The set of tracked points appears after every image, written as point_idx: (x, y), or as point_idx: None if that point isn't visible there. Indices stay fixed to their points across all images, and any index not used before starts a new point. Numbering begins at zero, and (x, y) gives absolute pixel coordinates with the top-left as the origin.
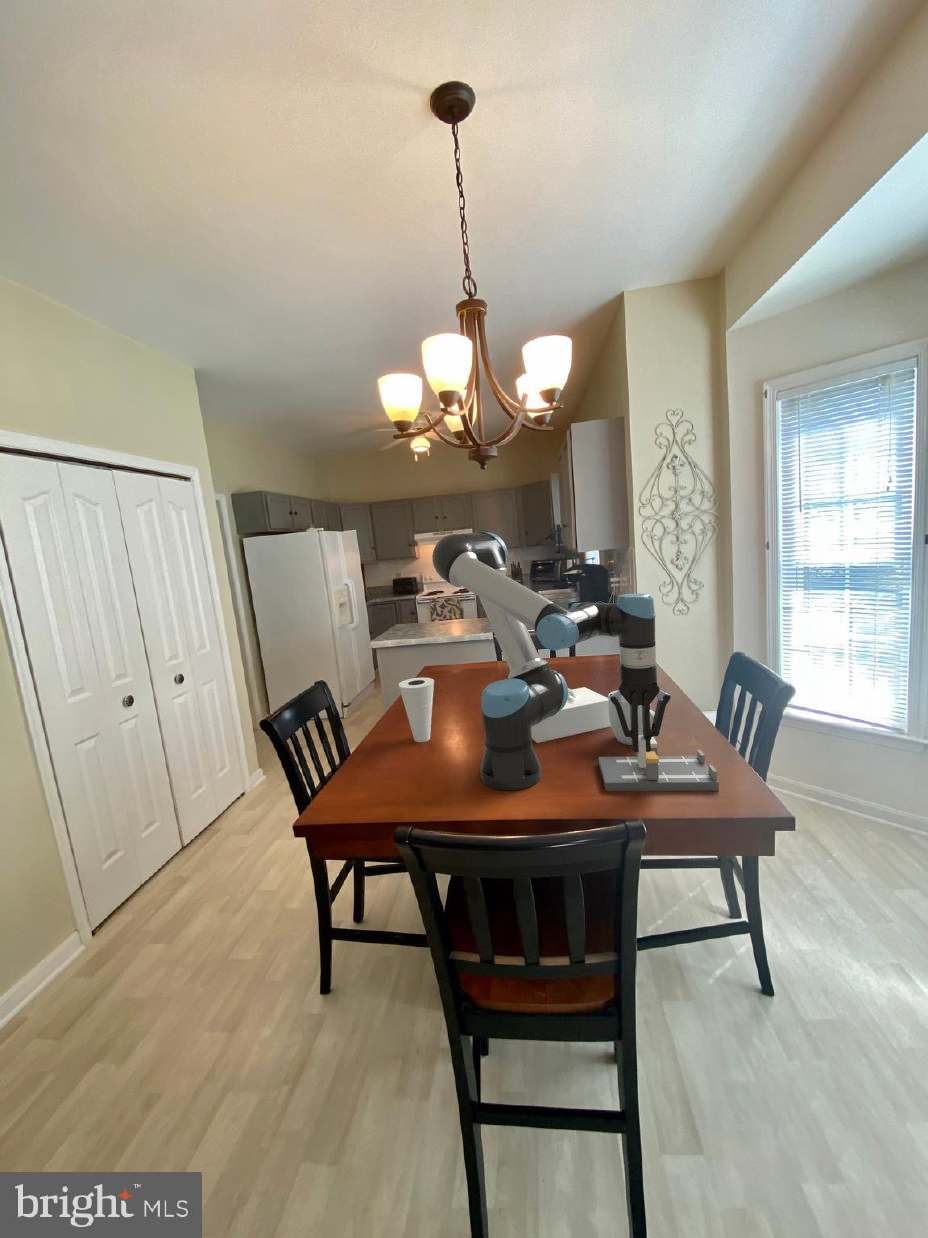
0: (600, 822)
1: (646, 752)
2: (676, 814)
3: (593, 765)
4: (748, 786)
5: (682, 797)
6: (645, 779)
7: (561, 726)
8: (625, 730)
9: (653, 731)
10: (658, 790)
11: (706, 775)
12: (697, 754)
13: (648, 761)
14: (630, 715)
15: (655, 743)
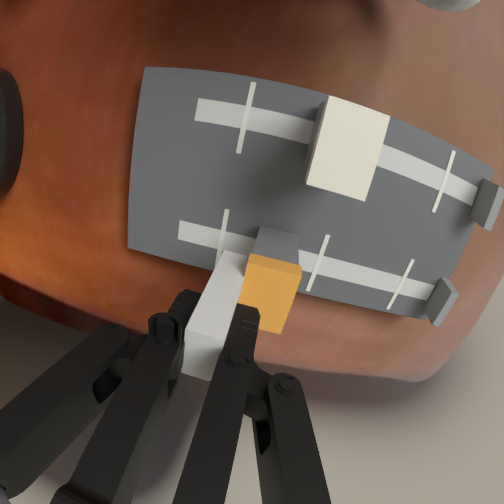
0: None
1: (259, 274)
2: (266, 355)
3: (141, 75)
4: (476, 300)
5: (320, 311)
6: None
7: None
8: (100, 387)
9: (253, 423)
10: None
11: (427, 287)
12: (489, 185)
13: None
14: (95, 433)
15: (356, 197)
